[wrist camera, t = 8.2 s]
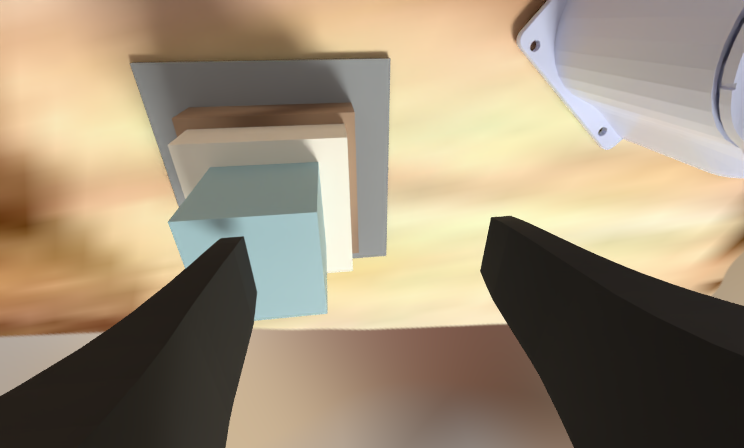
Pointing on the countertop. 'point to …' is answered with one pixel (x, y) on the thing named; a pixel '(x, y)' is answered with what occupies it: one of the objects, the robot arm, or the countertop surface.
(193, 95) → the slate mat
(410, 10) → the countertop surface
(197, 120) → the walnut slab
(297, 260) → the teal cube
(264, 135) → the cream slab
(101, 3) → the countertop surface
